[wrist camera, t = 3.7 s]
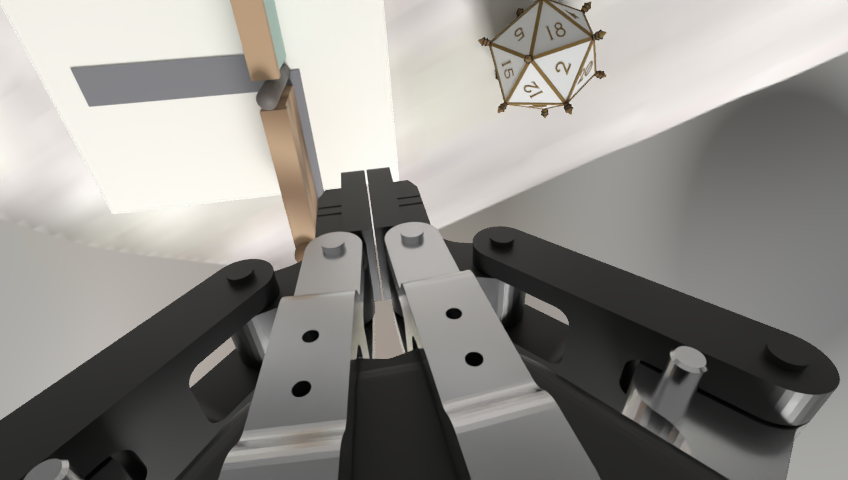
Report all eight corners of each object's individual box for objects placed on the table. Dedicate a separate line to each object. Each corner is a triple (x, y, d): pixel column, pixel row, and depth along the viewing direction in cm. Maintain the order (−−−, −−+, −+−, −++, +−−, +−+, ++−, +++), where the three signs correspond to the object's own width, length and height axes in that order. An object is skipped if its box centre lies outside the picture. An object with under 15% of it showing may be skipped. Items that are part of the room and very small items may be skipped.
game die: (518, 17, 36) (630, -45, 28) (542, 116, 38) (653, 85, 30) (439, 32, 31) (545, -37, 23) (471, 143, 33) (579, 116, 25)
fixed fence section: (267, 63, 31) (247, 90, 24) (292, 61, 31) (280, 88, 24) (304, 217, 38) (297, 270, 31) (324, 214, 38) (321, 267, 31)
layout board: (-68, -138, 23) (-78, -140, 22) (369, -148, 26) (370, -150, 25) (126, 231, 36) (123, 235, 36) (400, 197, 39) (401, 201, 39)
